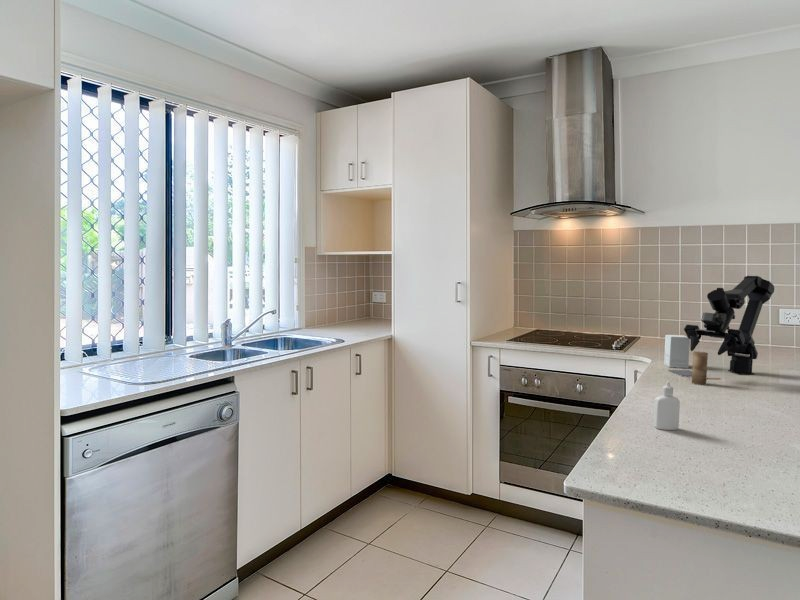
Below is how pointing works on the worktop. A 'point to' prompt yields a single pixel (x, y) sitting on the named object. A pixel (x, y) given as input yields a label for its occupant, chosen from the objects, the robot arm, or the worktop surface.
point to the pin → (699, 368)
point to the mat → (682, 372)
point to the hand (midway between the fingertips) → (704, 352)
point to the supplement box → (676, 351)
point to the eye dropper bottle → (666, 410)
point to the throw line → (708, 378)
